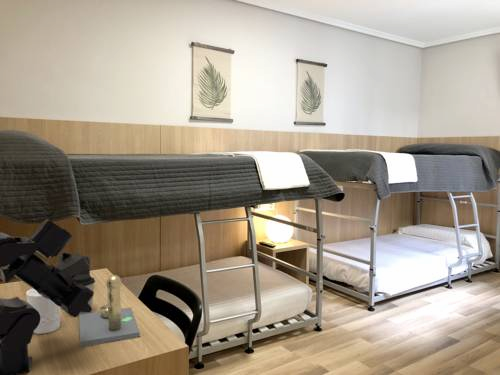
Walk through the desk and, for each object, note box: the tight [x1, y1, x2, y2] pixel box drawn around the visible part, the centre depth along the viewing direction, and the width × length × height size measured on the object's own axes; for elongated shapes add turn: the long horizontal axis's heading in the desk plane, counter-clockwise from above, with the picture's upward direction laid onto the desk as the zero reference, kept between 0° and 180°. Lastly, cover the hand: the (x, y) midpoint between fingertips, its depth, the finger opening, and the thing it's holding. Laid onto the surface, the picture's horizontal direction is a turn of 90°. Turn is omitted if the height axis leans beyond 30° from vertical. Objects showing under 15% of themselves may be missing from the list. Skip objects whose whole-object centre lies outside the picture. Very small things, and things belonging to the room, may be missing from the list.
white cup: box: [25, 288, 62, 335], centre depth 107 cm, size 8×8×10 cm
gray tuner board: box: [78, 307, 141, 348], centre depth 108 cm, size 17×14×1 cm
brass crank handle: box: [100, 274, 122, 330], centre depth 108 cm, size 13×4×13 cm, turn 26°
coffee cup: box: [73, 274, 96, 316], centre depth 118 cm, size 7×7×10 cm
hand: (90, 310), depth 99 cm, fingers closed
